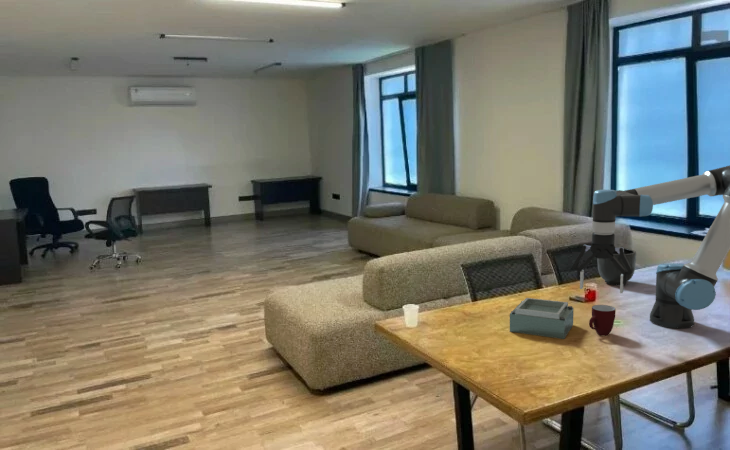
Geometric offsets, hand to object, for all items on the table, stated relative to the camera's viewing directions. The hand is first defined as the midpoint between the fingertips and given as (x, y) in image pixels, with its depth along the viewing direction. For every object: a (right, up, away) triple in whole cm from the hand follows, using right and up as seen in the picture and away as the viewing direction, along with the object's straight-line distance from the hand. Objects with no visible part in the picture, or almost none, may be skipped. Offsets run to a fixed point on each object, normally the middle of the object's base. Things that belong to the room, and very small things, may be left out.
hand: (601, 290), depth 207 cm
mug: (+1, -17, +2) cm, 17 cm away
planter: (+36, -5, +70) cm, 79 cm away
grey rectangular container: (-18, -16, +12) cm, 27 cm away
